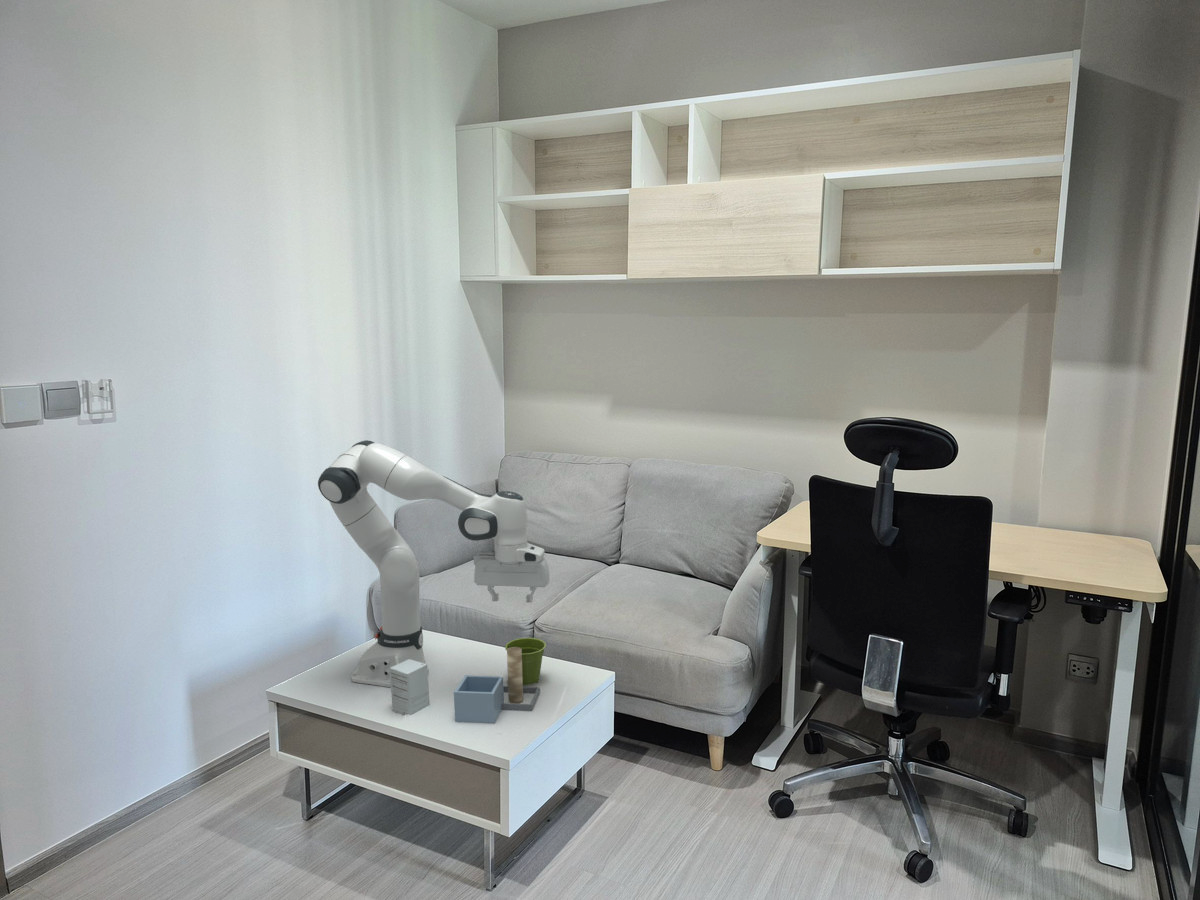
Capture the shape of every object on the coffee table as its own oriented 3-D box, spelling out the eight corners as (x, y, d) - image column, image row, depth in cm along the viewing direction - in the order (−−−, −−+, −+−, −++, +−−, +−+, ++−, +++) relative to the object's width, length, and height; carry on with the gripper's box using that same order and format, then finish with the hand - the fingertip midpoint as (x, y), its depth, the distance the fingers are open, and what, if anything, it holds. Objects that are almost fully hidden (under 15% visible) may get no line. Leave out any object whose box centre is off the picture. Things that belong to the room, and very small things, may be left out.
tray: (491, 712, 226) (490, 703, 226) (501, 693, 237) (500, 685, 237) (531, 713, 225) (531, 705, 224) (540, 695, 236) (539, 687, 235)
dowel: (507, 704, 229) (505, 652, 227) (510, 697, 233) (508, 646, 231) (521, 705, 229) (519, 652, 226) (524, 698, 233) (523, 647, 230)
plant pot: (498, 686, 242) (497, 649, 241) (521, 670, 253) (519, 635, 251) (533, 694, 237) (531, 656, 235) (554, 677, 247) (553, 641, 245)
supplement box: (411, 701, 234) (409, 658, 232) (430, 707, 230) (428, 664, 228) (391, 711, 228) (388, 667, 226) (410, 718, 224) (407, 673, 222)
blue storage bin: (455, 724, 220) (453, 692, 218) (466, 706, 230) (465, 675, 229) (494, 726, 218) (493, 693, 217) (504, 707, 229) (503, 676, 227)
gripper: (470, 554, 223) (471, 603, 225) (545, 555, 220) (546, 606, 222) (476, 547, 229) (478, 596, 231) (550, 549, 226) (551, 598, 228)
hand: (512, 601), depth 227 cm, fingers open, 8 cm apart
